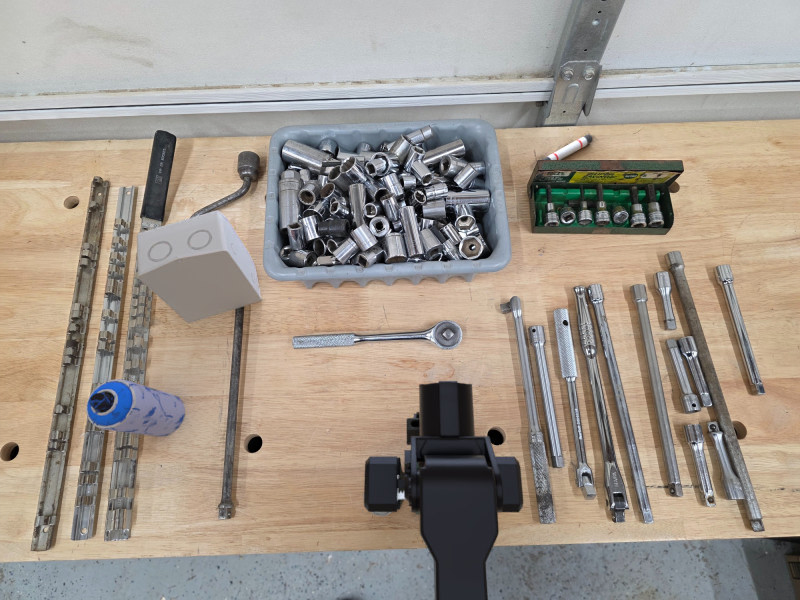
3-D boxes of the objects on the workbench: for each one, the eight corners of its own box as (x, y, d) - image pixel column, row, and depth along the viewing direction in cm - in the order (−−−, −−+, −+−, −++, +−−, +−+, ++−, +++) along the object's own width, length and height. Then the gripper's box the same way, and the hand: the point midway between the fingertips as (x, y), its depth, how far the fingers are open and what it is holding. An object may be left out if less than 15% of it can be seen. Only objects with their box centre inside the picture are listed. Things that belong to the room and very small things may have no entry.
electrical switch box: (253, 246, 97) (213, 180, 79) (265, 304, 90) (223, 245, 72) (185, 266, 95) (129, 203, 78) (191, 326, 88) (131, 272, 71)
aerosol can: (193, 394, 84) (130, 373, 65) (185, 438, 81) (118, 429, 62) (151, 393, 84) (76, 372, 65) (142, 438, 81) (62, 429, 62)
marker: (584, 138, 102) (588, 132, 100) (590, 144, 101) (593, 138, 99) (530, 168, 99) (532, 163, 97) (535, 175, 99) (538, 169, 97)
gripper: (527, 408, 50) (501, 421, 65) (361, 408, 51) (372, 421, 66) (538, 518, 47) (507, 506, 61) (357, 517, 47) (370, 505, 62)
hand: (438, 481), depth 62 cm, fingers open, 9 cm apart
